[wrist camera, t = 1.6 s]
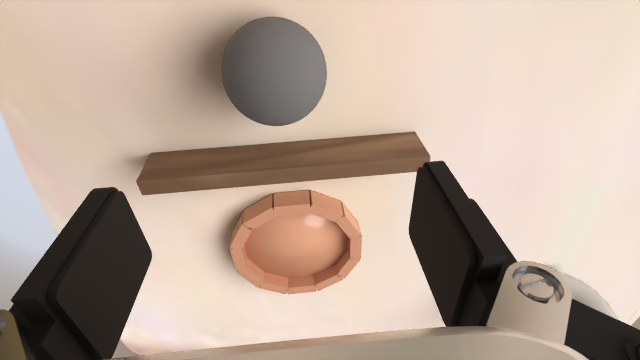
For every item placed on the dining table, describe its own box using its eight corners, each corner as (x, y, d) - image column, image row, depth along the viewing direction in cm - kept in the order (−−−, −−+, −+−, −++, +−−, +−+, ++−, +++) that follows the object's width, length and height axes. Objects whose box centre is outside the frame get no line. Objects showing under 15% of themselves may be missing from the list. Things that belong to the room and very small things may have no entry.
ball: (219, 9, 21) (200, 37, 16) (320, 3, 21) (331, 28, 16) (237, 103, 24) (227, 149, 20) (323, 97, 25) (333, 140, 20)
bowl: (221, 197, 29) (218, 212, 28) (359, 185, 30) (363, 199, 28) (245, 283, 36) (243, 298, 35) (356, 272, 37) (359, 287, 35)
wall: (151, 153, 26) (136, 181, 23) (415, 131, 27) (430, 156, 24) (156, 166, 27) (142, 195, 24) (413, 145, 28) (427, 170, 25)
